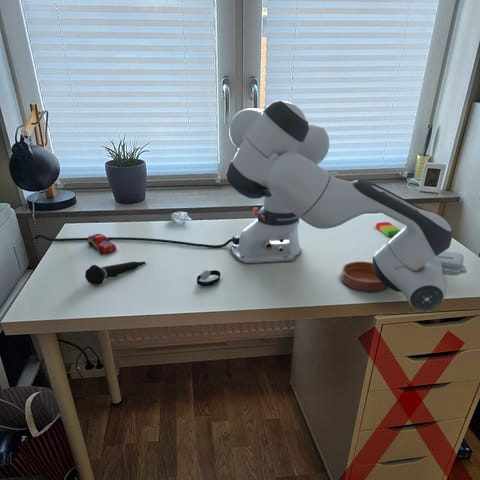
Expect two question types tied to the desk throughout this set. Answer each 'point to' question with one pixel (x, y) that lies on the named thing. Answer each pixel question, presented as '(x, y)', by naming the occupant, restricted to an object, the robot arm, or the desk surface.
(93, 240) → the race car
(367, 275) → the terracotta bowl
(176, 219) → the crumpled paper
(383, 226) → the popsicle
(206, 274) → the watch
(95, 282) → the microphone
